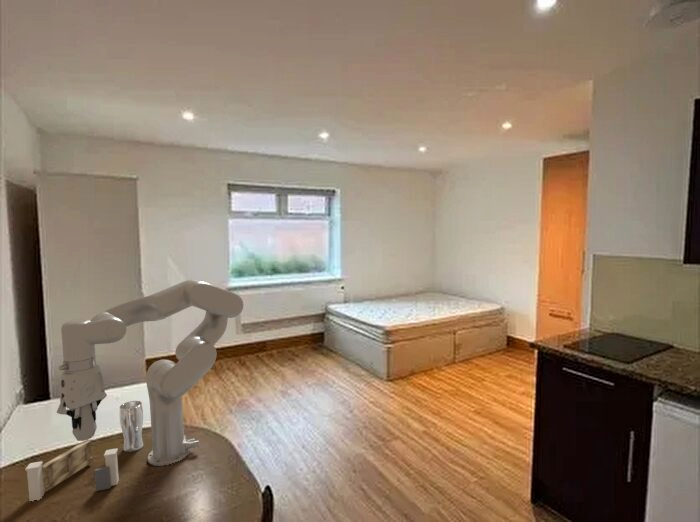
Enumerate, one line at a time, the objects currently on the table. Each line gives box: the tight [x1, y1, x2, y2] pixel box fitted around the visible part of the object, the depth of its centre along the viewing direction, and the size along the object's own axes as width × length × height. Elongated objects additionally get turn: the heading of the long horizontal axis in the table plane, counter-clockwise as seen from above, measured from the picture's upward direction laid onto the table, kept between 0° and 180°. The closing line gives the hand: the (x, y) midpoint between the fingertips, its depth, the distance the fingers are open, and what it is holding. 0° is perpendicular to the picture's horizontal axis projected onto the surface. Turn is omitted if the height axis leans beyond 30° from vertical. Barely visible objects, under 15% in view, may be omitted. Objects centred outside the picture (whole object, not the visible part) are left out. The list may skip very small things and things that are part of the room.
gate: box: [42, 439, 95, 492], centre depth 122 cm, size 15×2×7 cm, turn 164°
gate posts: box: [25, 448, 120, 502], centre depth 116 cm, size 22×4×10 cm, turn 109°
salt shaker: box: [71, 404, 98, 442], centre depth 117 cm, size 6×6×13 cm
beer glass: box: [119, 400, 144, 453], centre depth 139 cm, size 7×7×15 cm
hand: (84, 426), depth 117 cm, fingers closed on salt shaker, 3 cm apart
